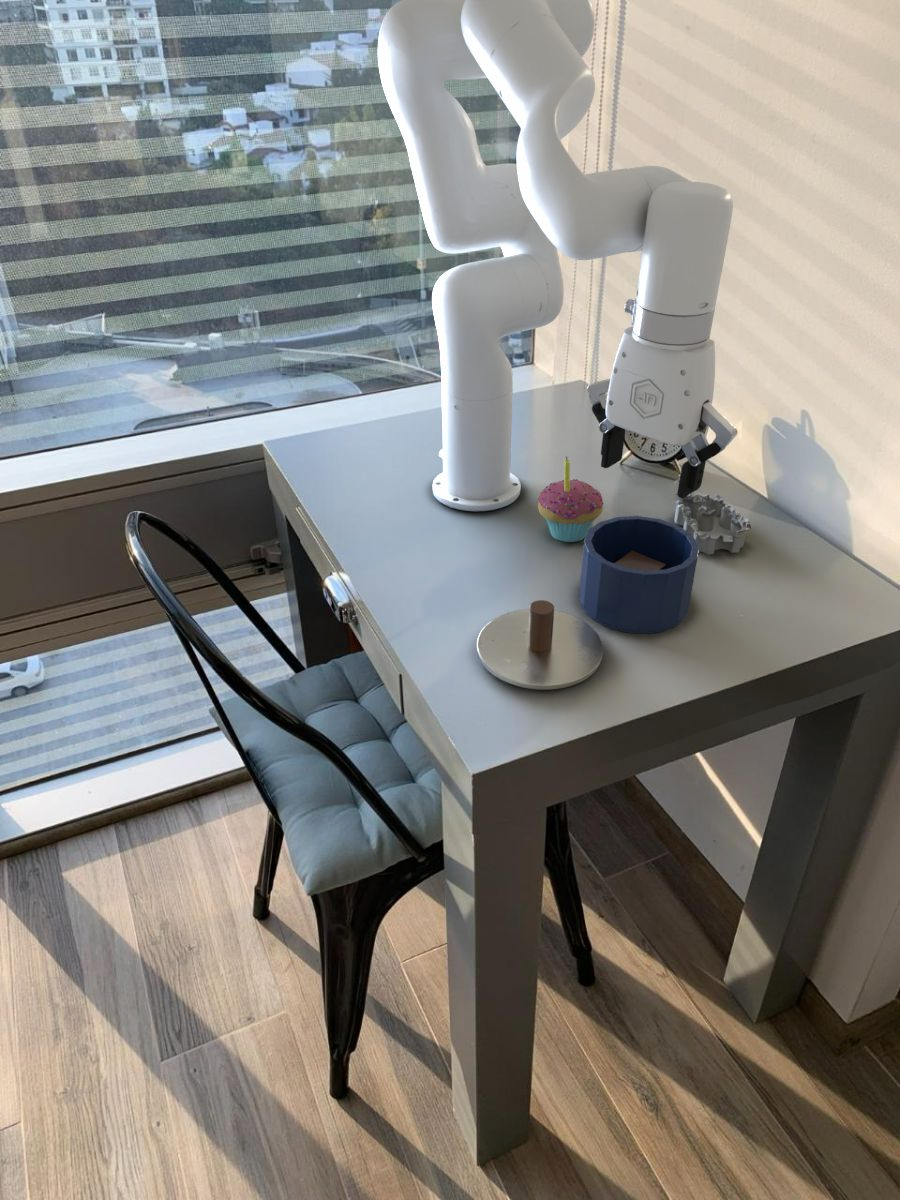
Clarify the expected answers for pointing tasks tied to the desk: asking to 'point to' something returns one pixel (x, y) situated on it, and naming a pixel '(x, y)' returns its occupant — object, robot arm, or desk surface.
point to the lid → (540, 648)
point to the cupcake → (570, 507)
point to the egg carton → (711, 523)
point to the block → (640, 562)
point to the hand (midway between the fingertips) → (648, 478)
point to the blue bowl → (637, 574)
